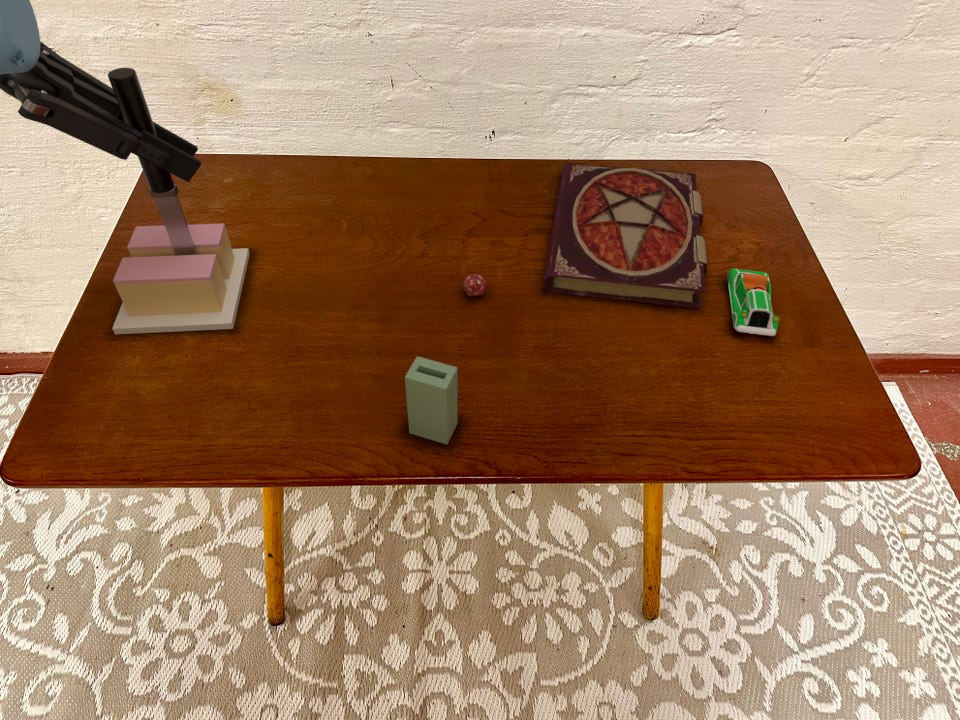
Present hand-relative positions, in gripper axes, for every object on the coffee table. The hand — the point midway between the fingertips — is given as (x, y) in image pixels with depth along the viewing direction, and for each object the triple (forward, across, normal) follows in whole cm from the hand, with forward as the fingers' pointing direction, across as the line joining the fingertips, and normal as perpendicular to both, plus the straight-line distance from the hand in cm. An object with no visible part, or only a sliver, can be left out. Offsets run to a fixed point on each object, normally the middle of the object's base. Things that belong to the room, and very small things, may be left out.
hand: (192, 164), depth 77 cm
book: (+51, +9, +26) cm, 58 cm away
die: (+33, +13, +8) cm, 37 cm away
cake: (+9, 0, -16) cm, 18 cm away
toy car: (+56, +29, +31) cm, 70 cm away
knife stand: (+24, +32, -1) cm, 40 cm away
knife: (+8, 0, -13) cm, 16 cm away
